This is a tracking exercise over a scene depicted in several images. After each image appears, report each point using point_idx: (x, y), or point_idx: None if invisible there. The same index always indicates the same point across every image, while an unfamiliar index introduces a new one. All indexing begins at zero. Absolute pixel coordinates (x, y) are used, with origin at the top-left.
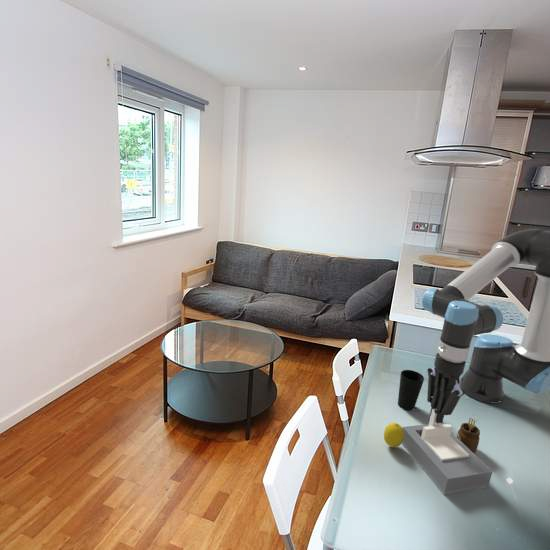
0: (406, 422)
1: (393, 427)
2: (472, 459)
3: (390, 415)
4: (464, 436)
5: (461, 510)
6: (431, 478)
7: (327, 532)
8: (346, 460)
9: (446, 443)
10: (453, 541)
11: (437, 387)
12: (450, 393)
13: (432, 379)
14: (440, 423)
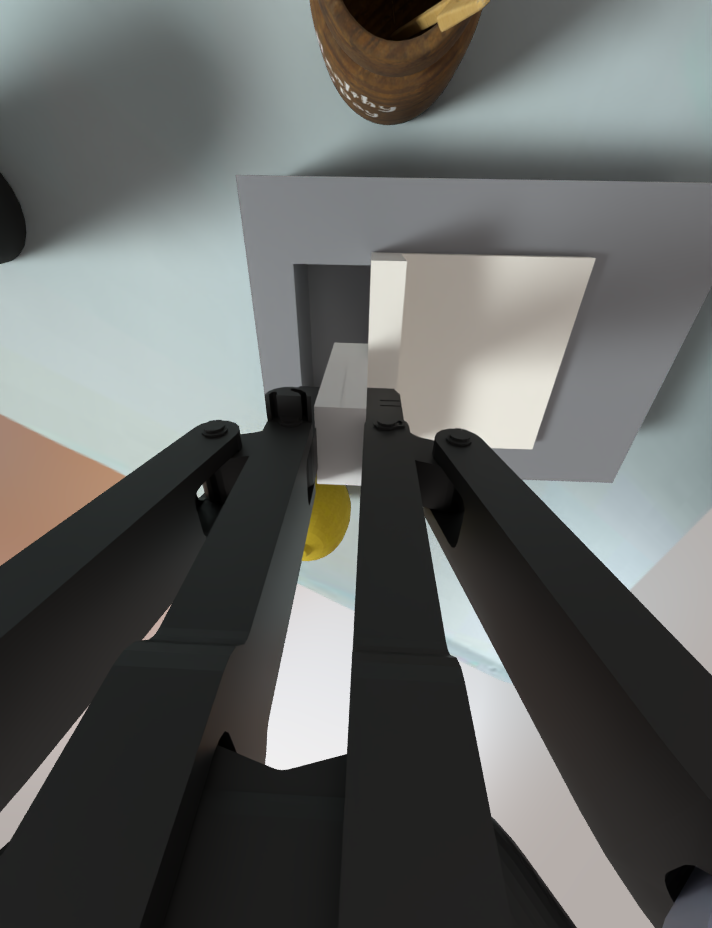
0: (153, 315)
1: (313, 558)
2: (612, 247)
3: (107, 368)
4: (419, 81)
5: (652, 425)
6: None
7: (510, 682)
8: (353, 605)
9: (453, 341)
10: (690, 516)
11: (264, 751)
12: (443, 651)
13: (17, 761)
14: (367, 362)
